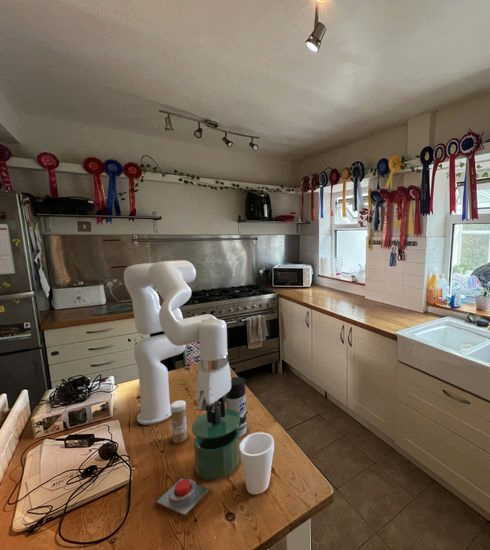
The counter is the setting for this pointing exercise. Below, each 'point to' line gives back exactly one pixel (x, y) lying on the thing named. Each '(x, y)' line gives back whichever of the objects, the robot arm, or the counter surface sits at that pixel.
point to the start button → (182, 487)
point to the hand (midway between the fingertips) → (216, 418)
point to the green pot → (216, 455)
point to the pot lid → (220, 428)
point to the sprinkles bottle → (178, 421)
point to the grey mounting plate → (183, 498)
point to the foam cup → (257, 461)
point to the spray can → (238, 402)
